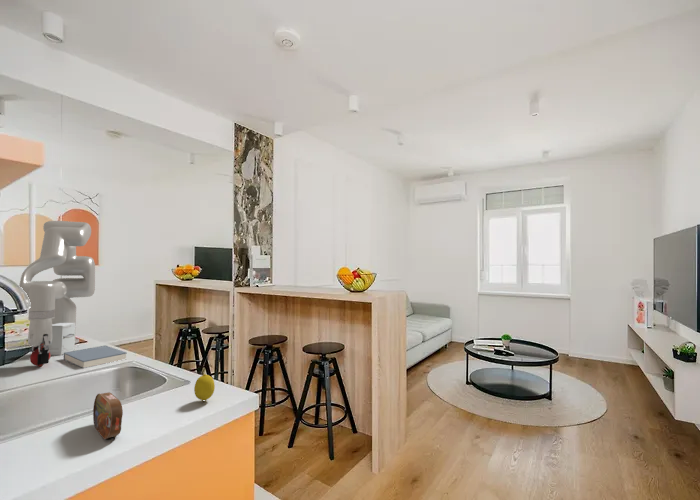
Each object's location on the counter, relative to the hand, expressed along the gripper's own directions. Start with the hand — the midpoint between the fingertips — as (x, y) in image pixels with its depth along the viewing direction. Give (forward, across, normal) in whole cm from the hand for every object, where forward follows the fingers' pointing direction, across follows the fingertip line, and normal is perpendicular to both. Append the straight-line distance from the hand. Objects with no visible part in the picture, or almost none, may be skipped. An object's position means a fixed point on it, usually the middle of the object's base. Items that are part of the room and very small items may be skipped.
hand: (40, 362), depth 132 cm
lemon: (+2, +79, +17) cm, 81 cm away
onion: (+2, 0, 0) cm, 2 cm away
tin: (+2, +76, -7) cm, 77 cm away
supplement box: (+2, -18, +11) cm, 21 cm away
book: (+2, +5, +16) cm, 17 cm away
